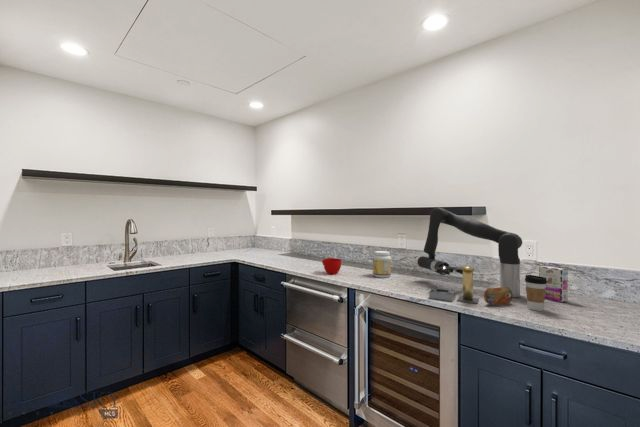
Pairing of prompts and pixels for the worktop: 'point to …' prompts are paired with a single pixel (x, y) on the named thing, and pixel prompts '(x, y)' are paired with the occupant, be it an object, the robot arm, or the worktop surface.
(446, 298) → the housing
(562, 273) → the candy bar box
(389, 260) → the supplement tub
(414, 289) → the worktop surface
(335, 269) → the ceramic cup
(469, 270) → the pin
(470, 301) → the pad
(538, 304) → the coffee cup
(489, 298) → the tin
